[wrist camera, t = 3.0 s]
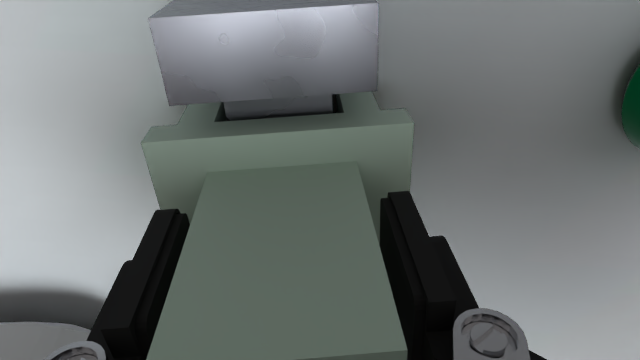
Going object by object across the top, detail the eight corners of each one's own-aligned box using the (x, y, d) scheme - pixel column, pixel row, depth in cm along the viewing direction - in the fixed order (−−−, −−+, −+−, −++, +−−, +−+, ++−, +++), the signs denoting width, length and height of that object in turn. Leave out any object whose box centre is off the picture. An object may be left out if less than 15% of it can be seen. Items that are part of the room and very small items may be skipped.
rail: (355, -20, 13) (378, 2, 10) (360, 432, 25) (371, 512, 22) (186, -9, 13) (148, 18, 9) (274, 439, 25) (271, 521, 22)
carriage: (388, 79, 14) (517, 294, 6) (384, 226, 17) (466, 499, 9) (172, 95, 14) (12, 336, 6) (207, 240, 17) (133, 530, 9)
